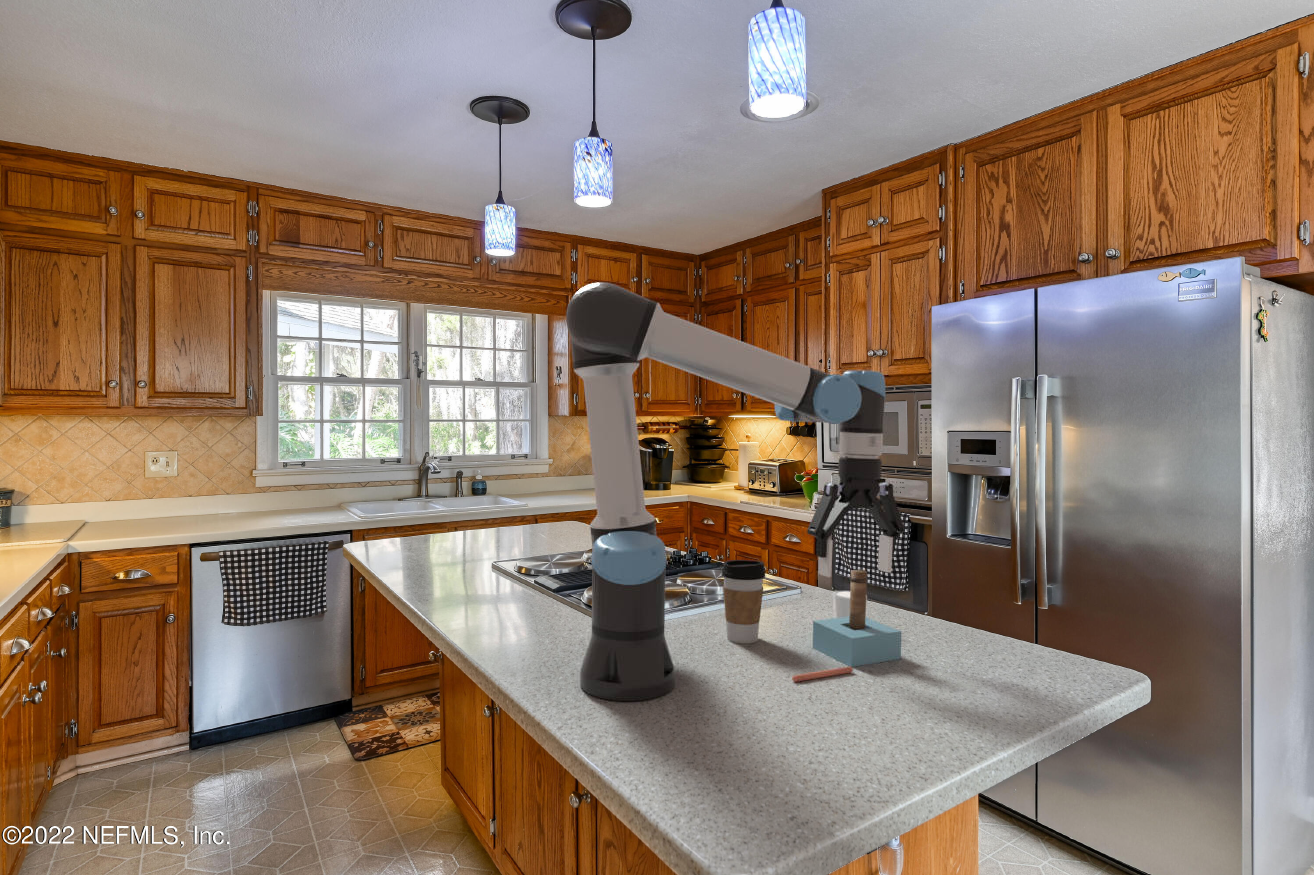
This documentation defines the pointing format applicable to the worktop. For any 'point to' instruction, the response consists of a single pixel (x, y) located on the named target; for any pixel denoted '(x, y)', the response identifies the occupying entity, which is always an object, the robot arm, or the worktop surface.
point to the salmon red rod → (822, 674)
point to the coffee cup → (743, 599)
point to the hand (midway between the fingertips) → (855, 573)
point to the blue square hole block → (856, 641)
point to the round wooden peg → (858, 599)
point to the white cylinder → (842, 603)
